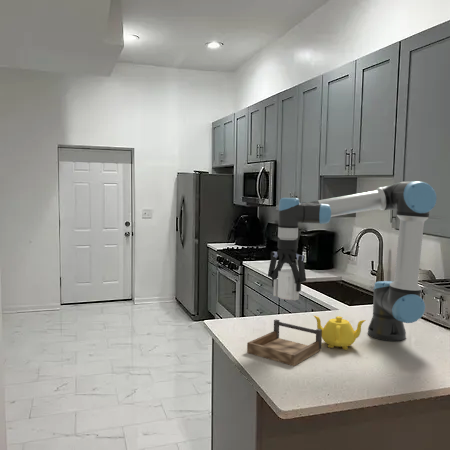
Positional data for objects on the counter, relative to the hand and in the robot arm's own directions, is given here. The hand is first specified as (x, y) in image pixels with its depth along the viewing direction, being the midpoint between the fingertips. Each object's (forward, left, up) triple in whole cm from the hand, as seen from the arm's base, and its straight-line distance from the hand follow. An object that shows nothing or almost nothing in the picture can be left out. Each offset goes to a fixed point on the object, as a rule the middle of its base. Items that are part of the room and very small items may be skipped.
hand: (285, 297), depth 176 cm
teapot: (-15, -16, -20) cm, 29 cm away
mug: (-1, 0, 0) cm, 1 cm away
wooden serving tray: (-2, +3, -20) cm, 20 cm away
